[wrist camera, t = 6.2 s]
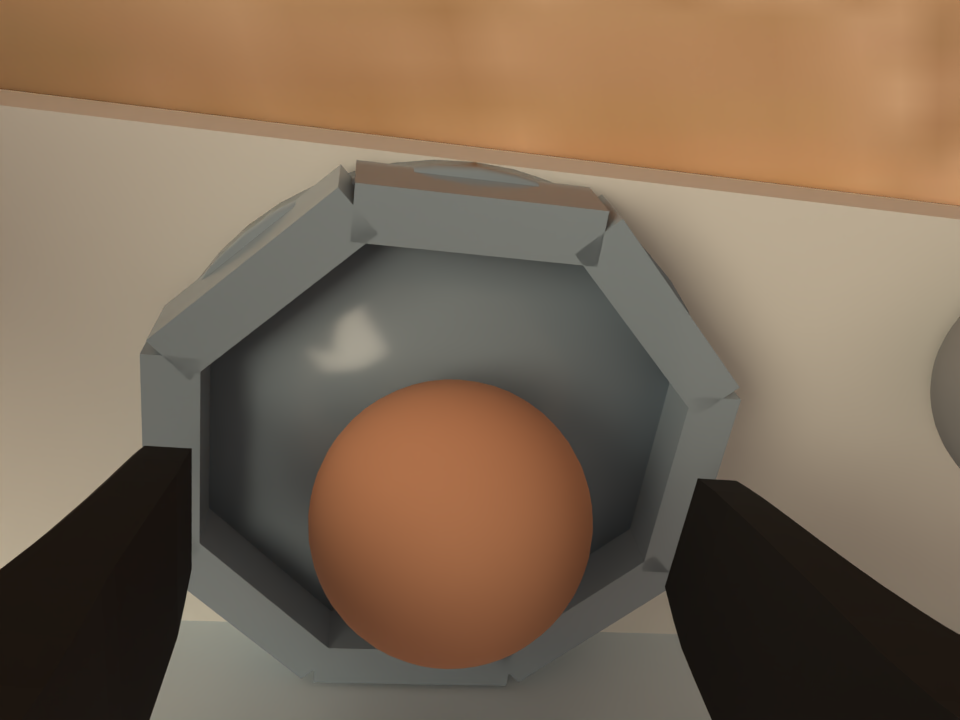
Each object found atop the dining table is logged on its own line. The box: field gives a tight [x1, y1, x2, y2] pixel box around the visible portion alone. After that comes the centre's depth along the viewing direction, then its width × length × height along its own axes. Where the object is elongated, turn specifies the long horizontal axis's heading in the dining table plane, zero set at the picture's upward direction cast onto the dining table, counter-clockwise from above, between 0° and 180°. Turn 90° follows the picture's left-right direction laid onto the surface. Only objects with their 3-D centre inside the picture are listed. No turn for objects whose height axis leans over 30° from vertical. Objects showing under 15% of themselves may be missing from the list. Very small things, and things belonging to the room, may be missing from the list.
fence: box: [150, 620, 711, 720], centre depth 16 cm, size 1×23×3 cm, turn 81°
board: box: [0, 89, 960, 634], centre depth 17 cm, size 18×23×1 cm
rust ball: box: [308, 379, 593, 669], centre depth 12 cm, size 4×4×4 cm
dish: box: [140, 160, 741, 686], centre depth 14 cm, size 9×9×2 cm
